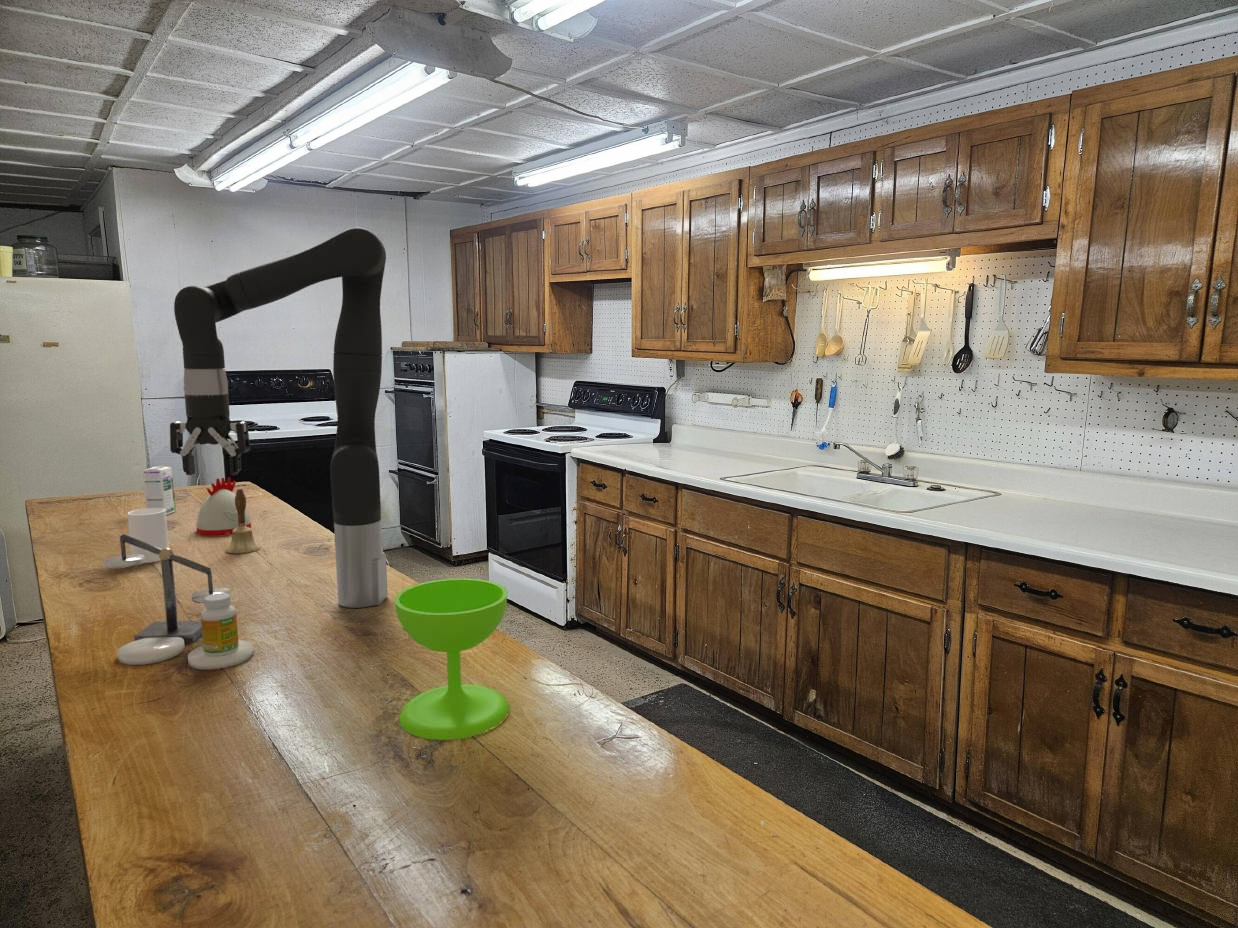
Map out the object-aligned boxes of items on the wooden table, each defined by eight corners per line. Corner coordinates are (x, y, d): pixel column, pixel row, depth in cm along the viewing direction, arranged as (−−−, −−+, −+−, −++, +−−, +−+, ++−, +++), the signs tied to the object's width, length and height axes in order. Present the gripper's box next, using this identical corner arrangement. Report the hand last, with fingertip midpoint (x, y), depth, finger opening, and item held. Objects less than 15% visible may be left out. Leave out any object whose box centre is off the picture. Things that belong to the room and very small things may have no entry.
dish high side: (195, 641, 141) (195, 635, 141) (164, 664, 131) (164, 658, 131) (140, 641, 141) (139, 635, 141) (104, 664, 131) (104, 658, 131)
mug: (125, 555, 196) (120, 508, 194) (163, 549, 202) (159, 503, 200) (134, 565, 187) (130, 516, 186) (174, 558, 193) (170, 511, 191)
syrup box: (165, 515, 239) (161, 469, 236) (146, 515, 239) (142, 469, 237) (176, 511, 244) (172, 466, 242) (157, 511, 244) (153, 466, 242)
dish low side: (263, 646, 139) (262, 639, 139) (237, 669, 129) (236, 662, 129) (207, 646, 139) (206, 639, 139) (176, 669, 129) (175, 662, 129)
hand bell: (262, 544, 207) (258, 485, 204) (258, 552, 199) (254, 491, 197) (228, 546, 204) (223, 487, 202) (223, 555, 197) (218, 493, 194)
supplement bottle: (224, 658, 131) (220, 602, 129) (196, 655, 132) (191, 600, 130) (245, 646, 136) (241, 592, 134) (218, 643, 137) (214, 590, 135)
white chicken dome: (261, 528, 224) (257, 477, 222) (214, 538, 213) (210, 484, 210) (233, 522, 232) (229, 472, 229) (186, 531, 220) (182, 479, 218)
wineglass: (417, 687, 123) (412, 577, 120) (518, 689, 123) (516, 579, 120) (383, 738, 107) (377, 614, 104) (499, 741, 107) (496, 615, 104)
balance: (239, 627, 148) (232, 527, 145) (224, 641, 141) (216, 537, 138) (123, 630, 146) (113, 529, 143) (103, 644, 139) (91, 539, 136)
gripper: (252, 391, 155) (257, 471, 158) (179, 390, 154) (185, 471, 157) (235, 393, 148) (241, 478, 150) (158, 393, 147) (165, 477, 150)
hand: (212, 474), depth 154 cm, fingers open, 8 cm apart
